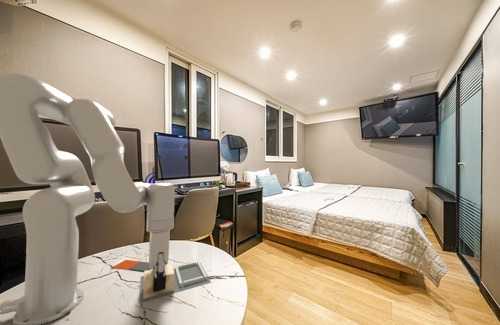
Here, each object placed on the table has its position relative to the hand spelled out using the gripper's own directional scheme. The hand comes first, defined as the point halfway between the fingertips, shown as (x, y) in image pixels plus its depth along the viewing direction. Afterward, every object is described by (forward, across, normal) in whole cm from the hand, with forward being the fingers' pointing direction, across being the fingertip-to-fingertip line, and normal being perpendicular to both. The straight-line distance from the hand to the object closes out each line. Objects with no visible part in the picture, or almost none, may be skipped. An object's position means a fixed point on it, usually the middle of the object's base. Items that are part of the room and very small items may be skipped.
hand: (158, 283), depth 57 cm
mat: (+2, -3, +5) cm, 6 cm away
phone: (+3, -19, -7) cm, 20 cm away
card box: (+2, 0, 0) cm, 2 cm away
